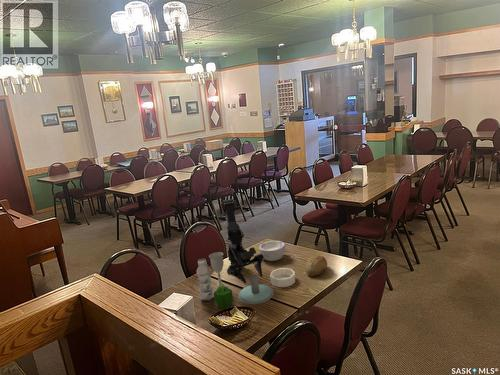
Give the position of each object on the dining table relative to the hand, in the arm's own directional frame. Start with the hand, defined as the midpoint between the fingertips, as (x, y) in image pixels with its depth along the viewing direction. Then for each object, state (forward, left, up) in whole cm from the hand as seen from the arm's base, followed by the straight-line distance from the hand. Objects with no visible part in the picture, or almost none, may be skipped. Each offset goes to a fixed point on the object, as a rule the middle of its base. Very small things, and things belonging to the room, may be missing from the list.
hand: (254, 279), depth 166 cm
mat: (0, 0, -8) cm, 8 cm away
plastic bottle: (-23, -3, -8) cm, 25 cm away
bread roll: (+29, +22, -8) cm, 38 cm away
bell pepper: (-13, -9, -8) cm, 18 cm away
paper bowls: (+4, +41, -8) cm, 42 cm away
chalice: (-19, +7, -8) cm, 22 cm away
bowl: (+12, +12, -8) cm, 19 cm away
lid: (0, 0, -7) cm, 7 cm away
